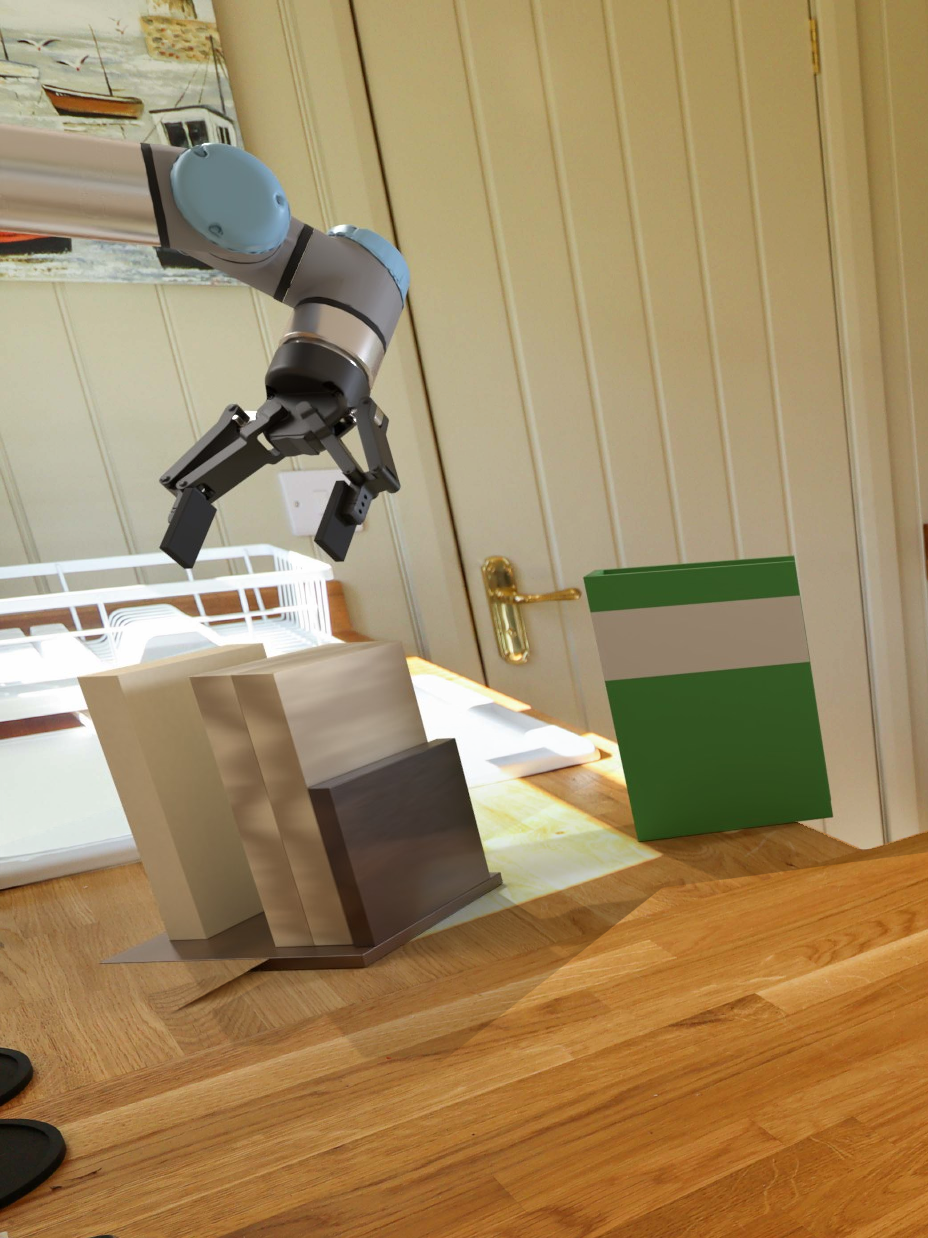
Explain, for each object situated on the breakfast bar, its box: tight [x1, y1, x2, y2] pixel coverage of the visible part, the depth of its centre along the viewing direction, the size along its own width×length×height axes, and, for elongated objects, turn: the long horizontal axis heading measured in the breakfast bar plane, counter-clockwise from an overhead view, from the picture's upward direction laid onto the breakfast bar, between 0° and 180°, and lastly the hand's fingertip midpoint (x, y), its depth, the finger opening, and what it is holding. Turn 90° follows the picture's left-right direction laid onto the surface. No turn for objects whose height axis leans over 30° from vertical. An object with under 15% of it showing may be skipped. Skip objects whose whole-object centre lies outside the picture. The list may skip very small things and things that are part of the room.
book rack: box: [98, 639, 504, 972], centre depth 96 cm, size 20×18×21 cm
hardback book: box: [582, 554, 834, 843], centre depth 119 cm, size 18×7×24 cm, turn 107°
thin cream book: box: [76, 642, 268, 940], centre depth 98 cm, size 3×14×20 cm, turn 178°
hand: (251, 555), depth 107 cm, fingers open, 13 cm apart
